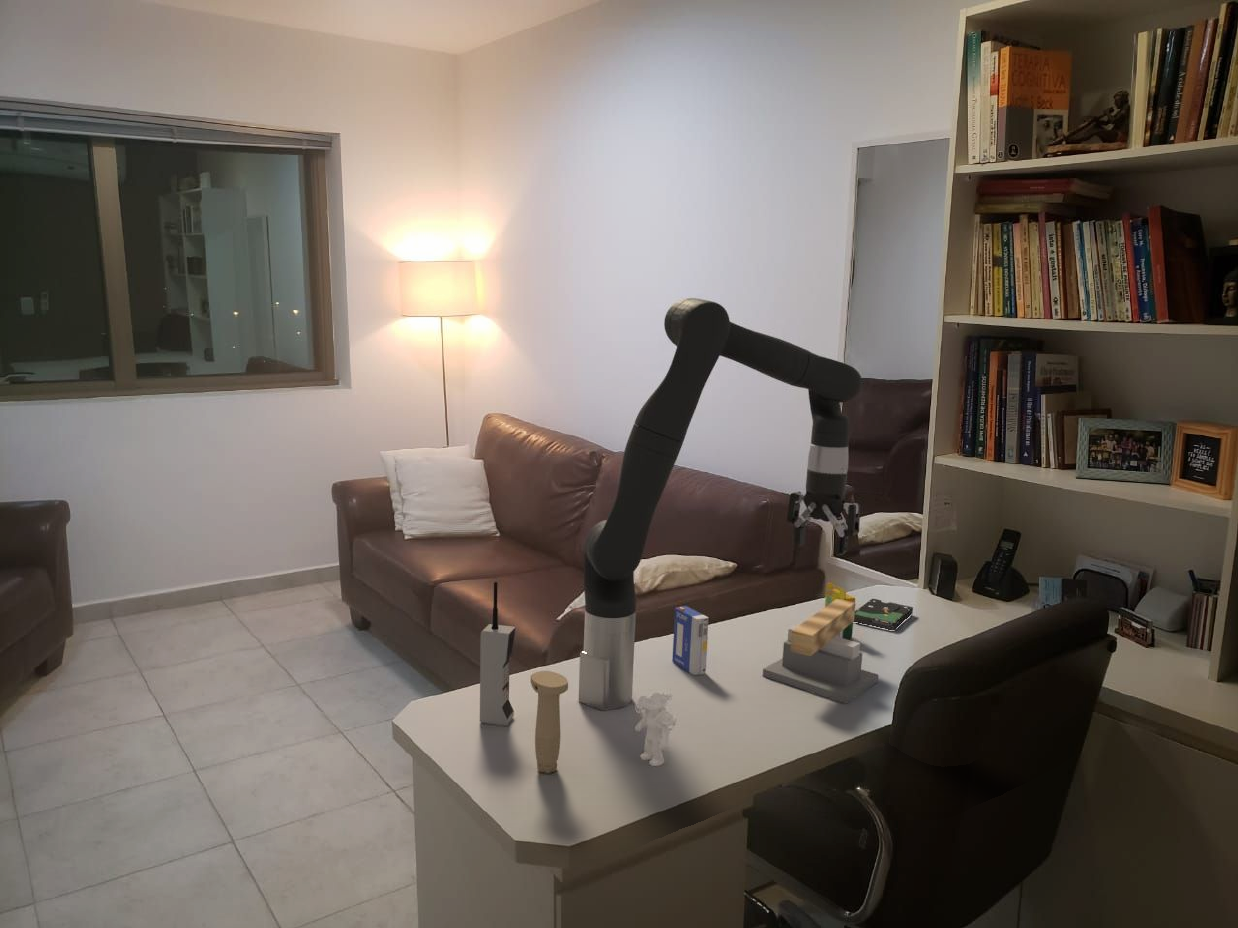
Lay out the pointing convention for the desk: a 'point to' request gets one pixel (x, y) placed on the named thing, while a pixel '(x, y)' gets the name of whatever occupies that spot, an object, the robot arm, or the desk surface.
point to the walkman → (690, 640)
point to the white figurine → (655, 726)
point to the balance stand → (824, 670)
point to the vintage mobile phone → (495, 671)
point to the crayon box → (840, 594)
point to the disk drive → (882, 614)
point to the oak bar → (822, 627)
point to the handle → (548, 718)
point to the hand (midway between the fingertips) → (820, 550)
